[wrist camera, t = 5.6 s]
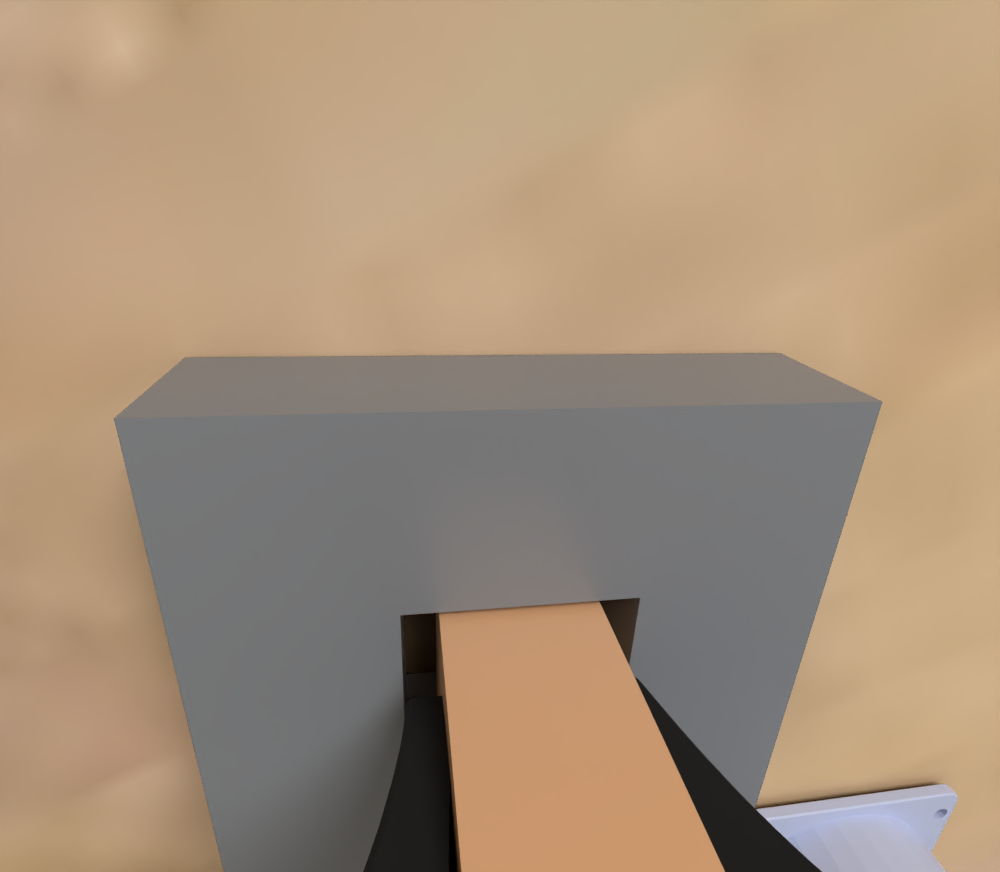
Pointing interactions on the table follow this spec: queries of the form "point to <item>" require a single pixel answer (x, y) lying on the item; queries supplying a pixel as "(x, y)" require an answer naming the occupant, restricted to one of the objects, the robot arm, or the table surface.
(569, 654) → the plug peg
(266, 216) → the table surface
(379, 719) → the socket block
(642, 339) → the table surface
